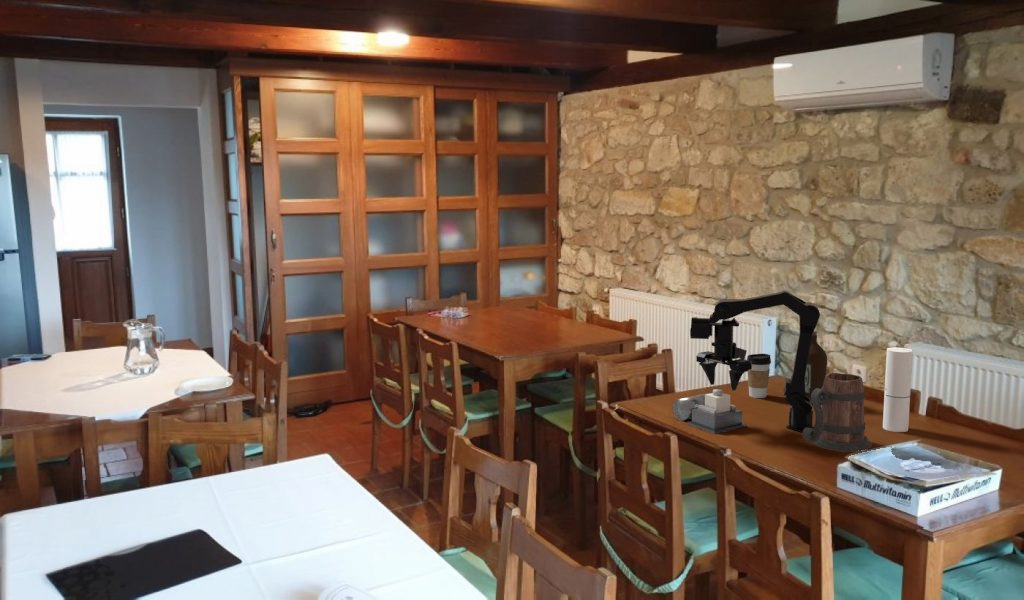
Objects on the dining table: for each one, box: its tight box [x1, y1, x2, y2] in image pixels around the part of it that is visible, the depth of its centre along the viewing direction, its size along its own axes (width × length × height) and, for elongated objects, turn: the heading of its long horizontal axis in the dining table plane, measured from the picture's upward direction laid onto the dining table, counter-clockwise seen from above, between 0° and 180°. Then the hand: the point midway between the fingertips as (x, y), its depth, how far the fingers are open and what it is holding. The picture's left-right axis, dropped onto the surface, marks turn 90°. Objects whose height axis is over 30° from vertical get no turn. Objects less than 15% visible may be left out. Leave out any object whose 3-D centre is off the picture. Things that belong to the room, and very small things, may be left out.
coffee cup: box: [746, 353, 772, 399], centre depth 288 cm, size 8×8×15 cm
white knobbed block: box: [704, 388, 731, 413], centre depth 255 cm, size 5×6×6 cm
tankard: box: [802, 372, 872, 453], centre depth 235 cm, size 24×17×20 cm
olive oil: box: [794, 330, 828, 406], centre depth 279 cm, size 11×11×25 cm
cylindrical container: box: [882, 346, 914, 433], centre depth 248 cm, size 7×7×25 cm
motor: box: [672, 393, 748, 435], centre depth 259 cm, size 20×14×7 cm
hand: (723, 387), depth 257 cm, fingers open, 9 cm apart
